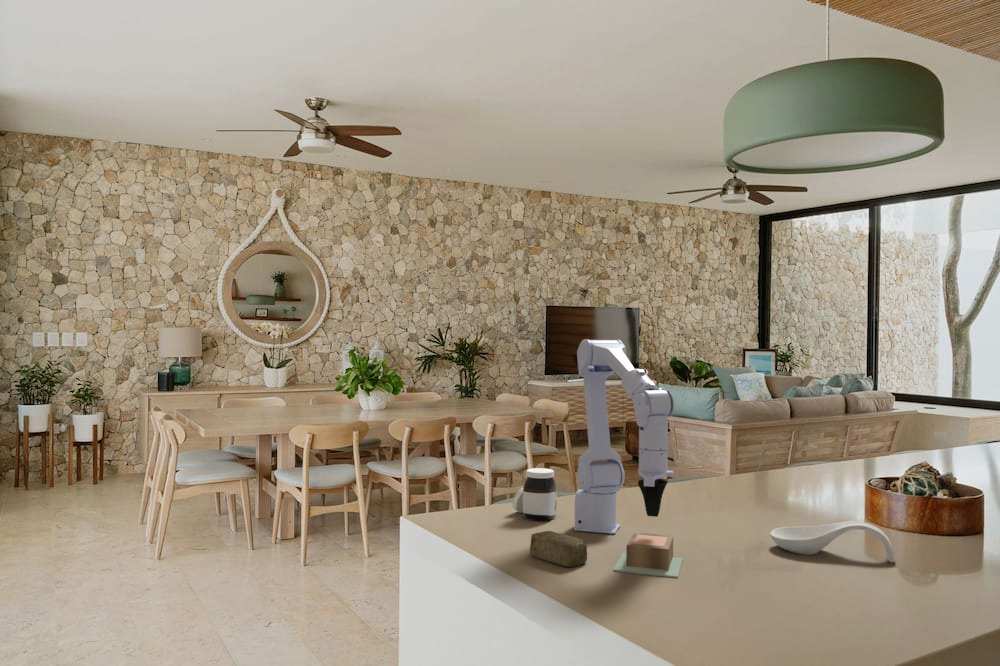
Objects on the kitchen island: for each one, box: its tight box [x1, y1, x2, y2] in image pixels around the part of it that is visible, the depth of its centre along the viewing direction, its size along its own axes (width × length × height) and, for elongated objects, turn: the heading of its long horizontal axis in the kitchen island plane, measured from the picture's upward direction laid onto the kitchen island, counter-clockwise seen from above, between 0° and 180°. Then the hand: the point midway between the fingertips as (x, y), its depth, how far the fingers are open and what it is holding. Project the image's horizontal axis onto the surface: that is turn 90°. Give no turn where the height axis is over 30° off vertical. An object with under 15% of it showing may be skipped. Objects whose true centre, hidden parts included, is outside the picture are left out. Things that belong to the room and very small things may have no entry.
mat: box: [613, 552, 684, 579], centre depth 145 cm, size 12×12×1 cm
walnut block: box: [626, 532, 674, 570], centre depth 147 cm, size 8×4×10 cm
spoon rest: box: [769, 520, 896, 563], centre depth 155 cm, size 24×12×7 cm, turn 68°
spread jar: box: [512, 467, 558, 522], centre depth 185 cm, size 12×11×12 cm
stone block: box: [529, 530, 588, 568], centre depth 148 cm, size 6×12×5 cm, turn 44°
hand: (652, 515), depth 151 cm, fingers closed
